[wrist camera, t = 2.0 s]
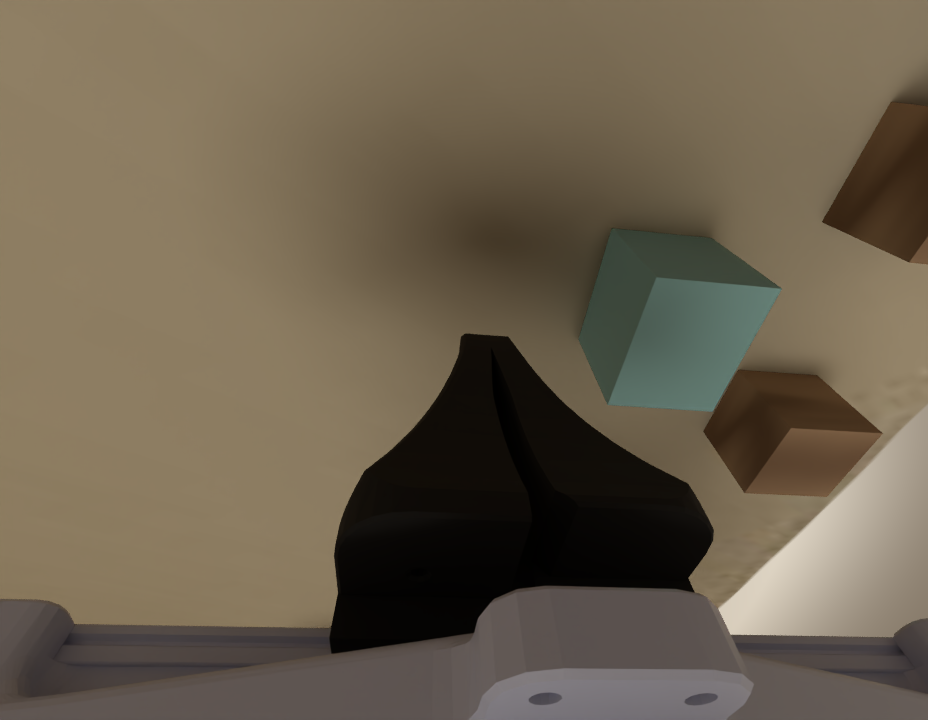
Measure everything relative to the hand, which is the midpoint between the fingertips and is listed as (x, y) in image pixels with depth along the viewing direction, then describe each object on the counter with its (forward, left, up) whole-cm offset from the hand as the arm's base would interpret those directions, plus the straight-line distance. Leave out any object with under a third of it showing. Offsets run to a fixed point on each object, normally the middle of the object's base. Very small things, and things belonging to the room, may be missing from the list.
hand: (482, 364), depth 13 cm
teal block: (0, -7, -6) cm, 9 cm away
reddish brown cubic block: (-6, -15, -6) cm, 17 cm away
